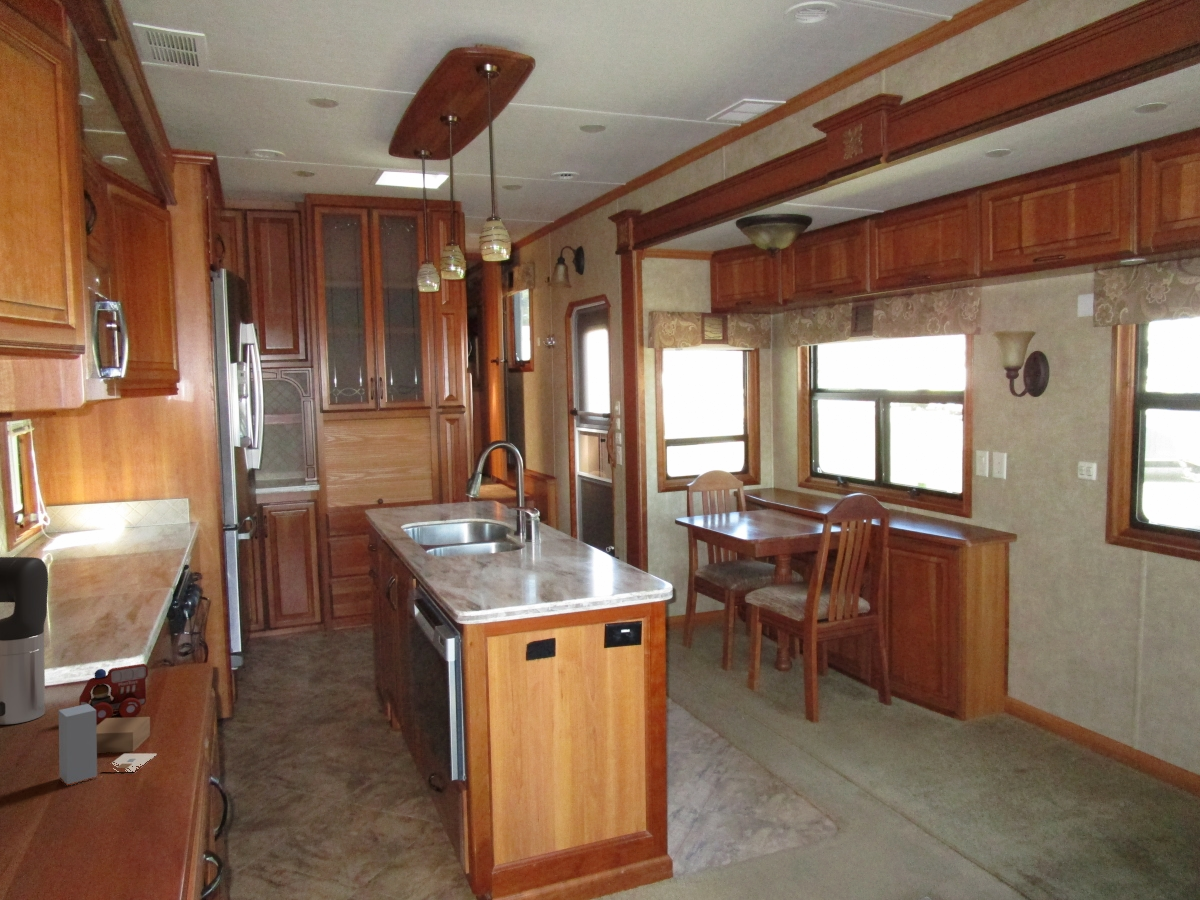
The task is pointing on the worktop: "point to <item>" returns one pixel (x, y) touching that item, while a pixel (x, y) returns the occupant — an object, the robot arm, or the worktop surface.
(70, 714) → the pillar
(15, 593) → the robot arm
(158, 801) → the worktop surface
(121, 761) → the page
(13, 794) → the worktop surface
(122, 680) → the toy fire truck
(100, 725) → the base block
